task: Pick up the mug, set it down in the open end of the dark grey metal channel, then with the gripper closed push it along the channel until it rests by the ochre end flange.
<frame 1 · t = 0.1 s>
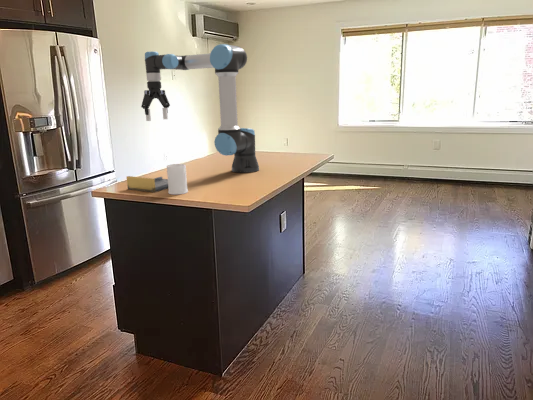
hand: (157, 120, 244), 28 cm above the table, fingers open, 13 cm apart
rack: (157, 186, 203), on the table
mug: (180, 192, 191), on the table
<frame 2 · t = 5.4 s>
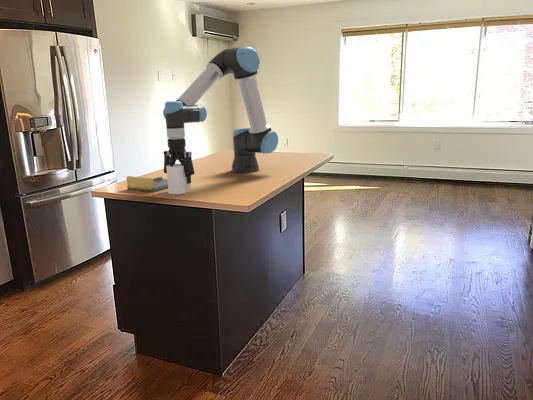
hand: (180, 189, 190), 1 cm above the table, fingers closed on mug, 8 cm apart
mug: (180, 192, 191), on the table, touching gripper
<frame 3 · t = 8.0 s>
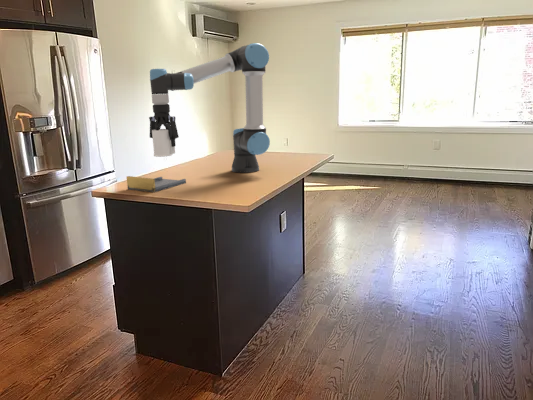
hand: (165, 153, 203), 15 cm above the table, fingers closed on mug, 8 cm apart
mug: (165, 155, 204), point 14 cm above the table, touching gripper
when the fingers open (3 cm above the table, at t = 10.5 s): mug drops 1 cm, resting on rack.
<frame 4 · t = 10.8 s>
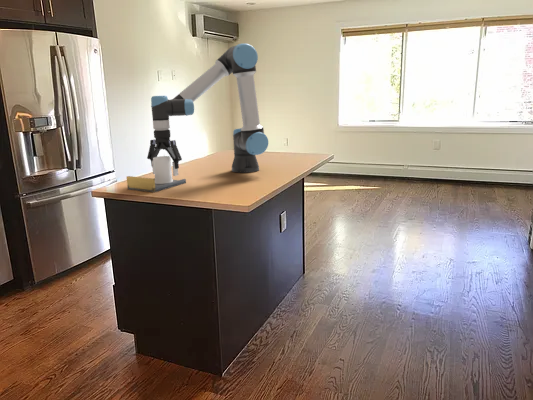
hand: (165, 174, 207), 4 cm above the table, fingers open, 12 cm apart
mug: (166, 181, 208), point 1 cm above the table, touching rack
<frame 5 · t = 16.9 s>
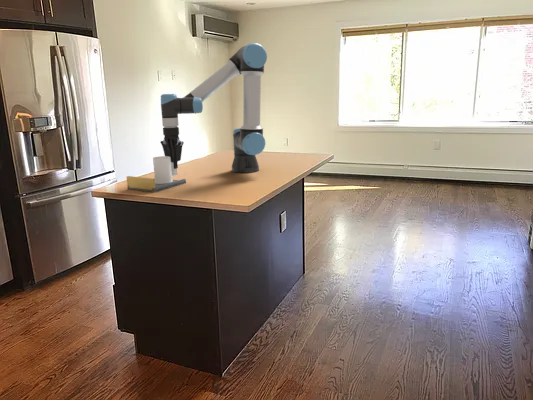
hand: (174, 175, 213), 3 cm above the table, fingers closed
mug: (165, 182, 208), point 1 cm above the table, touching gripper, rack
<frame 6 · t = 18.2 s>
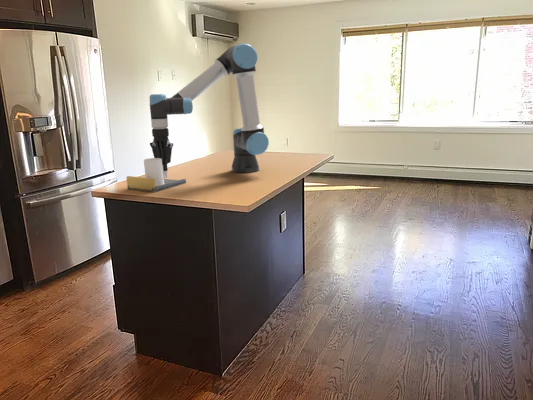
hand: (164, 177, 207), 3 cm above the table, fingers closed
mug: (156, 184, 203), point 1 cm above the table, touching gripper, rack
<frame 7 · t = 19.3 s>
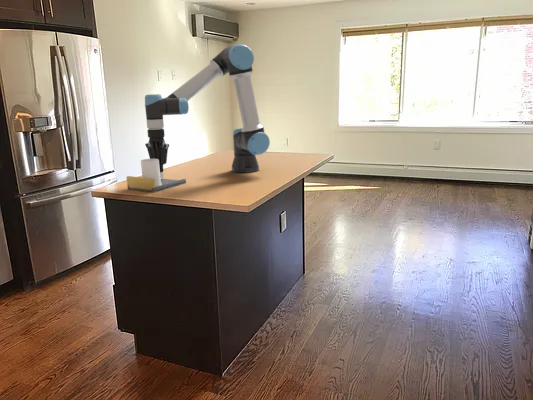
hand: (160, 178, 205), 3 cm above the table, fingers closed
mug: (152, 185, 201), point 1 cm above the table, touching gripper, hand, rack
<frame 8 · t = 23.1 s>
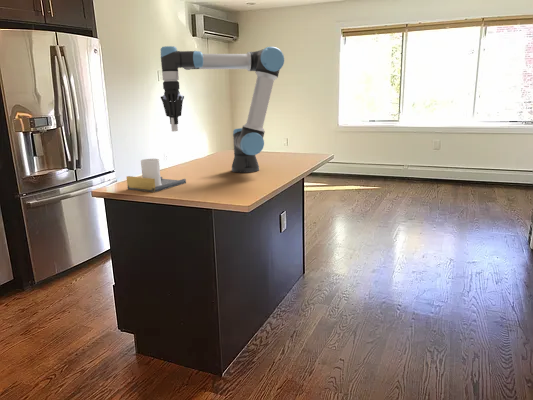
hand: (174, 131, 210), 24 cm above the table, fingers closed
mug: (152, 185, 201), point 1 cm above the table, touching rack
at the end: mug inside the target area (2.6 cm from its centre), point 0.8 cm above the table; mug tilted 0°; the gripper is holding nothing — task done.
